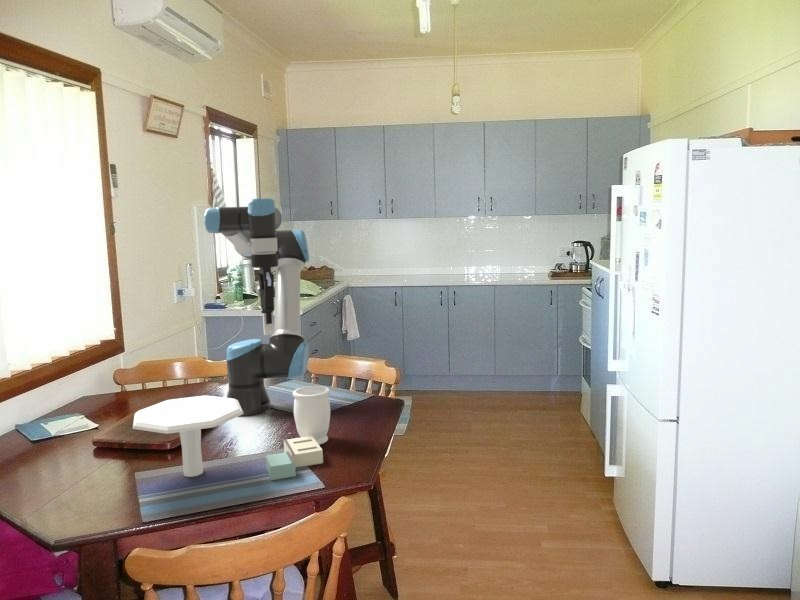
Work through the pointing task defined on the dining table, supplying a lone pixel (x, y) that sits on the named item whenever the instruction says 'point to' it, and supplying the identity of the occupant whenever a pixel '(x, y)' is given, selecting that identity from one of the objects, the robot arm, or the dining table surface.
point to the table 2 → (188, 423)
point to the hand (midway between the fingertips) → (269, 334)
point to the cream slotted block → (304, 451)
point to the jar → (312, 412)
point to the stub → (280, 465)
